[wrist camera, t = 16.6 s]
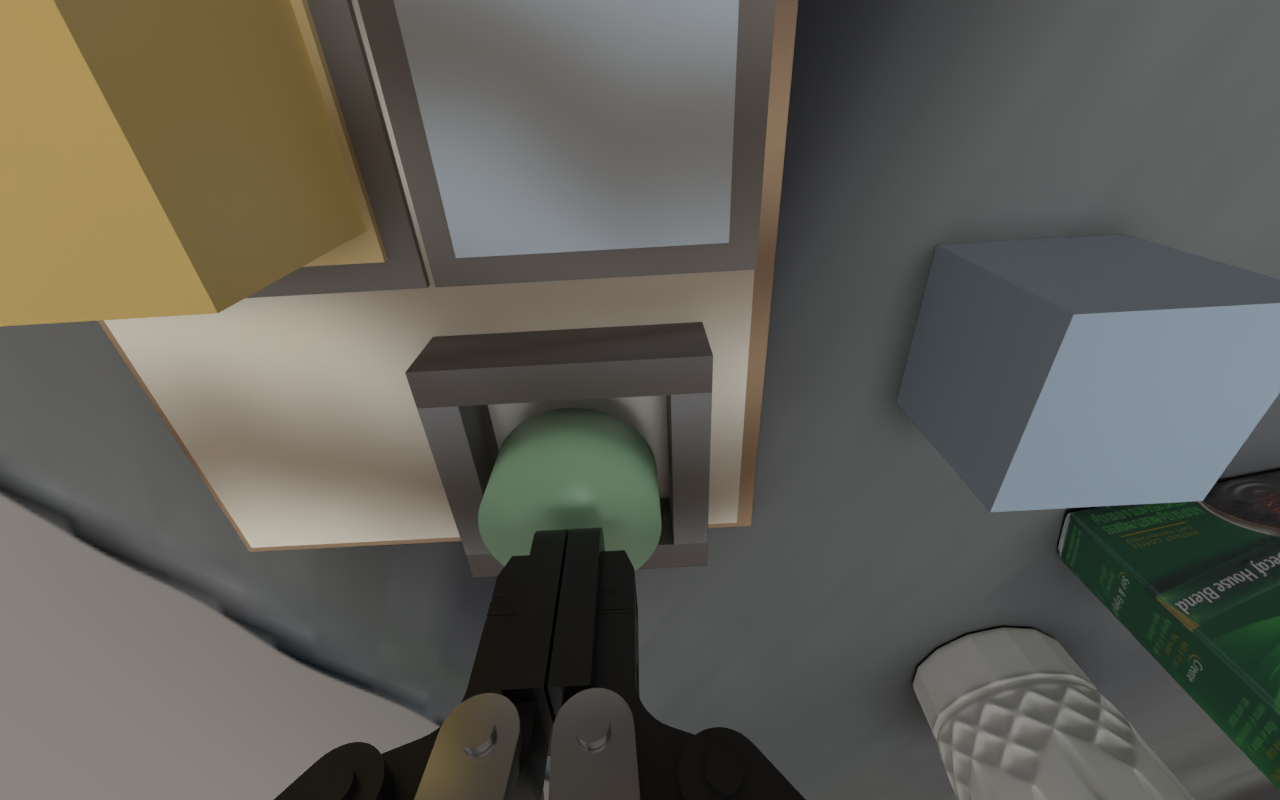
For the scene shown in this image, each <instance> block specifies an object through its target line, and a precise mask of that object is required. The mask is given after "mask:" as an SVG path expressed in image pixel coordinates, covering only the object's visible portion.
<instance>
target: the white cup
mask: <svg viewBox="0 0 1280 800" xmlns="http://www.w3.org/2000/svg"><path fill="white" fill-rule="evenodd" d="M913 689H914V691H915V693H916V696H917V698H918V700H919V703H920V705H921V707H922V710H923V712H924V714H925V716H926V719H927V721H928V723H929V726H930V728H931V730H932V733H933V735H934V737H935V739H936V741H937V744H938V749H939V755H940V758H941V761H942V763H943V765H944V767H945V770H946V773H947V775H948V778H949V781H950V783H951V786H952V788H953V790H954V793H955V796H956V798H957V800H1196V799H1195V798H1194V796H1193V795H1192V794H1191V793H1190V792H1189V790H1188V789H1187V788H1186V787H1185V786H1184V785H1183V783H1182V782H1181V781H1180V780H1179V779H1178V777H1177V776H1176V775H1175V774H1174V773H1173V772H1172V770H1171V769H1170V768H1169V767H1168V766H1167V765H1166V764H1165V762H1164V761H1163V760H1162V759H1161V758H1160V757H1159V756H1158V755H1157V754H1156V753H1155V752H1154V751H1153V750H1152V749H1151V748H1150V747H1149V746H1148V745H1147V744H1146V743H1145V742H1144V741H1143V739H1142V738H1141V737H1140V735H1139V734H1138V733H1137V731H1136V730H1135V729H1134V728H1133V726H1132V725H1131V724H1130V723H1129V721H1128V720H1127V719H1126V718H1125V717H1124V716H1123V715H1122V714H1121V713H1120V712H1119V711H1118V710H1117V709H1116V708H1115V707H1114V706H1113V705H1112V704H1111V703H1110V702H1109V701H1108V700H1107V699H1106V698H1105V697H1104V696H1103V695H1102V694H1100V693H1099V692H1098V690H1097V689H1096V687H1095V686H1094V684H1093V683H1092V682H1091V681H1090V679H1089V678H1088V677H1087V676H1086V675H1085V673H1084V672H1083V671H1082V670H1081V669H1080V667H1079V666H1078V665H1077V664H1076V663H1075V661H1074V660H1073V659H1072V658H1071V656H1070V655H1069V654H1068V653H1067V652H1066V650H1065V649H1064V648H1063V647H1062V646H1061V645H1060V643H1059V642H1058V641H1057V640H1055V639H1054V638H1051V637H1049V636H1047V635H1045V634H1043V633H1041V632H1039V631H1037V630H1035V629H1026V628H1006V627H1002V628H997V629H991V630H984V631H982V632H977V633H973V634H968V635H966V636H963V637H961V638H959V639H957V640H955V641H952V642H950V643H948V644H946V645H944V646H942V647H940V648H938V649H937V650H936V651H935V652H934V653H932V654H931V655H930V656H929V657H928V658H927V659H926V660H925V661H924V662H923V663H921V664H920V665H919V666H918V668H917V672H916V675H915V678H914V682H913Z"/></svg>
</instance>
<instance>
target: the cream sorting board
mask: <svg viewBox="0 0 1280 800" xmlns="http://www.w3.org/2000/svg"><path fill="white" fill-rule="evenodd" d="M290 1H291V4H292V7H293V10H294V13H295V16H296V19H297V22H298V25H299V28H300V31H301V34H302V37H303V40H304V43H305V46H306V49H307V52H308V55H309V58H310V61H311V64H312V67H313V70H314V73H315V76H316V79H317V82H318V85H319V88H320V91H321V94H322V97H323V100H324V103H325V106H326V109H327V112H328V115H329V119H330V122H331V125H332V128H333V131H334V134H335V137H336V140H337V143H338V146H339V149H340V152H341V155H342V158H343V161H344V164H345V167H346V170H347V173H348V176H349V179H350V182H351V185H352V188H353V191H354V194H355V197H356V200H357V203H358V206H359V209H360V212H361V215H362V218H363V221H364V224H365V227H366V230H367V231H366V232H364V233H362V234H360V235H358V236H357V237H355V238H353V239H351V240H349V241H348V242H346V243H344V244H342V245H340V246H338V247H337V248H335V249H333V250H331V251H329V252H328V253H326V254H324V255H322V256H320V257H319V258H317V259H315V260H313V261H311V262H310V263H308V264H306V265H304V266H302V267H301V268H299V269H297V270H295V271H293V272H291V273H290V274H288V275H286V276H284V277H282V278H281V279H279V280H277V281H275V282H273V283H272V284H270V285H268V286H266V287H264V288H263V289H261V290H259V291H257V292H255V293H254V294H252V295H250V296H248V297H246V298H245V299H243V300H241V301H239V302H237V303H235V304H234V305H232V306H230V307H228V308H226V309H225V310H223V311H221V312H219V313H214V314H198V315H181V316H165V317H148V318H132V319H115V320H99V321H98V322H99V323H100V325H101V326H102V328H103V330H104V331H105V333H106V334H107V336H108V337H109V339H110V340H111V342H112V343H113V345H114V346H115V348H116V349H117V351H118V352H119V354H120V355H121V357H122V358H123V360H124V361H125V363H126V365H127V366H128V368H129V369H130V371H131V372H132V374H133V375H134V377H135V378H136V380H137V381H138V383H139V384H140V386H141V387H142V389H143V390H144V392H145V393H146V395H147V396H148V398H149V399H150V401H151V403H152V404H153V406H154V407H155V409H156V410H157V412H158V413H159V415H160V416H161V418H162V419H163V421H164V422H165V424H166V425H167V427H168V428H169V430H170V431H171V433H172V434H173V436H174V438H175V439H176V441H177V442H178V444H179V445H180V447H181V448H182V450H183V451H184V453H185V454H186V456H187V457H188V459H189V460H190V462H191V463H192V465H193V466H194V468H195V469H196V471H197V473H198V474H199V476H200V477H201V479H202V480H203V482H204V483H205V485H206V486H207V488H208V489H209V491H210V492H211V494H212V495H213V497H214V498H215V500H216V501H217V503H218V504H219V506H220V508H221V509H222V511H223V512H224V514H225V515H226V517H227V518H228V520H229V521H230V523H231V524H232V526H233V527H234V529H235V530H236V532H237V533H238V535H239V536H240V538H241V539H242V541H243V542H244V544H245V546H246V547H247V549H248V550H249V552H256V551H276V550H295V549H314V548H334V547H353V546H372V545H391V544H411V543H430V542H449V541H462V544H463V547H464V550H465V553H466V556H467V559H468V562H469V565H470V568H471V571H472V574H473V577H494V576H498V575H499V573H500V572H501V571H502V569H503V568H504V567H505V566H503V565H502V564H501V563H500V562H499V561H498V560H497V559H496V558H494V556H493V555H492V554H491V553H490V552H489V550H488V549H487V547H486V545H485V544H484V542H483V540H482V537H481V535H480V531H479V526H478V513H479V507H480V504H481V502H482V499H483V496H484V493H485V490H486V487H487V484H488V482H489V479H490V476H491V473H492V470H493V467H494V465H495V462H496V459H497V456H498V453H499V450H500V448H501V445H502V444H503V442H504V440H505V439H506V437H507V436H508V435H509V434H510V432H511V431H512V430H513V429H515V428H516V427H517V426H518V425H519V424H521V423H522V422H524V421H525V420H527V419H529V418H531V417H533V416H535V415H537V414H540V413H543V412H545V411H550V410H554V409H561V408H585V409H592V410H597V411H601V412H604V413H607V414H610V415H613V416H615V417H617V418H619V419H621V420H623V421H624V422H626V423H627V424H629V425H631V426H632V427H633V428H634V429H635V430H637V431H638V432H639V433H640V434H641V435H642V436H643V438H644V439H645V440H646V441H647V443H648V444H649V446H650V448H651V450H652V452H653V454H654V457H655V460H656V464H657V473H658V486H659V499H660V512H661V535H660V539H659V542H658V545H657V547H656V549H655V551H654V552H653V554H652V555H651V557H650V558H649V559H648V560H647V561H646V562H645V563H644V564H643V565H642V566H641V567H640V568H639V569H649V568H669V567H688V566H707V550H708V528H719V527H738V526H751V518H752V507H753V496H754V485H755V474H756V463H757V452H758V441H759V430H760V419H761V408H762V396H763V385H764V374H765V363H766V352H767V341H768V330H769V319H770V308H771V297H772V286H773V275H774V264H775V253H776V242H777V231H778V219H779V208H780V197H781V186H782V175H783V164H784V153H785V142H786V131H787V120H788V109H789V98H790V87H791V76H792V65H793V54H794V42H795V31H796V20H797V9H798V0H290Z"/></svg>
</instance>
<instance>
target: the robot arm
mask: <svg viewBox="0 0 1280 800" xmlns="http://www.w3.org/2000/svg"><path fill="white" fill-rule="evenodd" d="M547 756H551V761H550V780H549V800H805V799H804V798H803V796H802V795H801V794H800V793H799V792H798V791H797V790H796V789H795V788H794V787H793V786H792V785H791V784H790V783H789V781H788V780H787V779H786V778H785V777H784V776H783V775H782V774H781V773H780V772H779V771H778V770H777V769H776V768H775V766H774V765H773V764H772V763H771V762H770V761H769V760H768V759H767V758H766V757H765V756H764V755H763V754H762V753H761V752H760V750H759V749H758V748H757V747H756V746H755V745H754V744H753V743H752V742H751V741H750V740H749V739H748V738H747V737H745V736H744V735H742V734H741V733H739V732H737V731H734V730H732V729H728V728H722V727H715V728H709V729H706V730H703V731H701V732H699V733H698V734H696V735H694V734H691V733H688V732H685V731H682V730H679V729H676V728H673V727H670V726H668V725H665V724H663V723H661V722H660V721H658V720H656V719H655V718H654V717H653V716H652V715H651V714H650V713H649V712H648V711H647V710H646V709H645V707H644V706H643V704H642V702H641V701H640V698H639V646H638V607H637V595H636V583H635V571H634V567H633V565H632V563H631V561H630V559H629V557H628V555H627V554H626V552H625V550H619V551H605V545H604V537H603V530H602V527H600V528H580V529H570V530H568V529H564V530H544V531H536V532H535V534H534V537H533V541H532V546H531V551H530V555H523V556H512V557H511V558H510V560H509V561H508V563H507V564H506V565H505V567H504V568H503V569H502V571H501V572H500V573H499V575H498V577H497V581H496V584H495V588H494V592H493V595H492V602H491V603H490V607H489V610H488V614H487V620H486V621H485V625H484V629H483V632H482V636H481V640H480V643H479V647H478V651H477V655H476V658H475V662H474V666H473V669H472V673H471V677H470V680H469V684H468V688H467V691H466V694H465V696H464V698H463V700H462V702H461V704H460V705H458V706H457V707H456V708H455V709H454V710H453V711H452V712H451V713H450V714H449V716H448V717H447V718H446V719H445V721H444V723H443V724H442V726H441V727H440V728H438V729H437V730H436V731H434V732H432V733H431V734H429V735H427V736H425V737H423V738H421V739H419V740H416V741H413V742H411V743H408V744H405V745H403V746H401V747H398V748H396V749H393V750H390V751H388V752H385V753H383V754H380V752H379V751H378V750H377V749H376V748H375V747H374V746H372V745H370V744H368V743H363V742H354V743H349V744H345V745H342V746H340V747H338V748H335V749H333V750H332V751H330V752H329V753H327V754H325V755H324V756H323V757H322V758H320V759H319V760H318V761H317V762H316V763H314V764H313V765H312V766H311V767H310V768H309V769H308V770H306V771H305V772H304V773H303V774H302V775H301V776H300V777H299V778H298V779H296V780H295V781H294V782H293V783H292V784H291V785H290V786H289V787H287V788H286V789H285V790H284V791H283V792H282V793H281V794H280V795H279V796H277V797H276V798H275V799H274V800H544V792H543V786H544V778H545V770H546V762H547Z"/></svg>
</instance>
